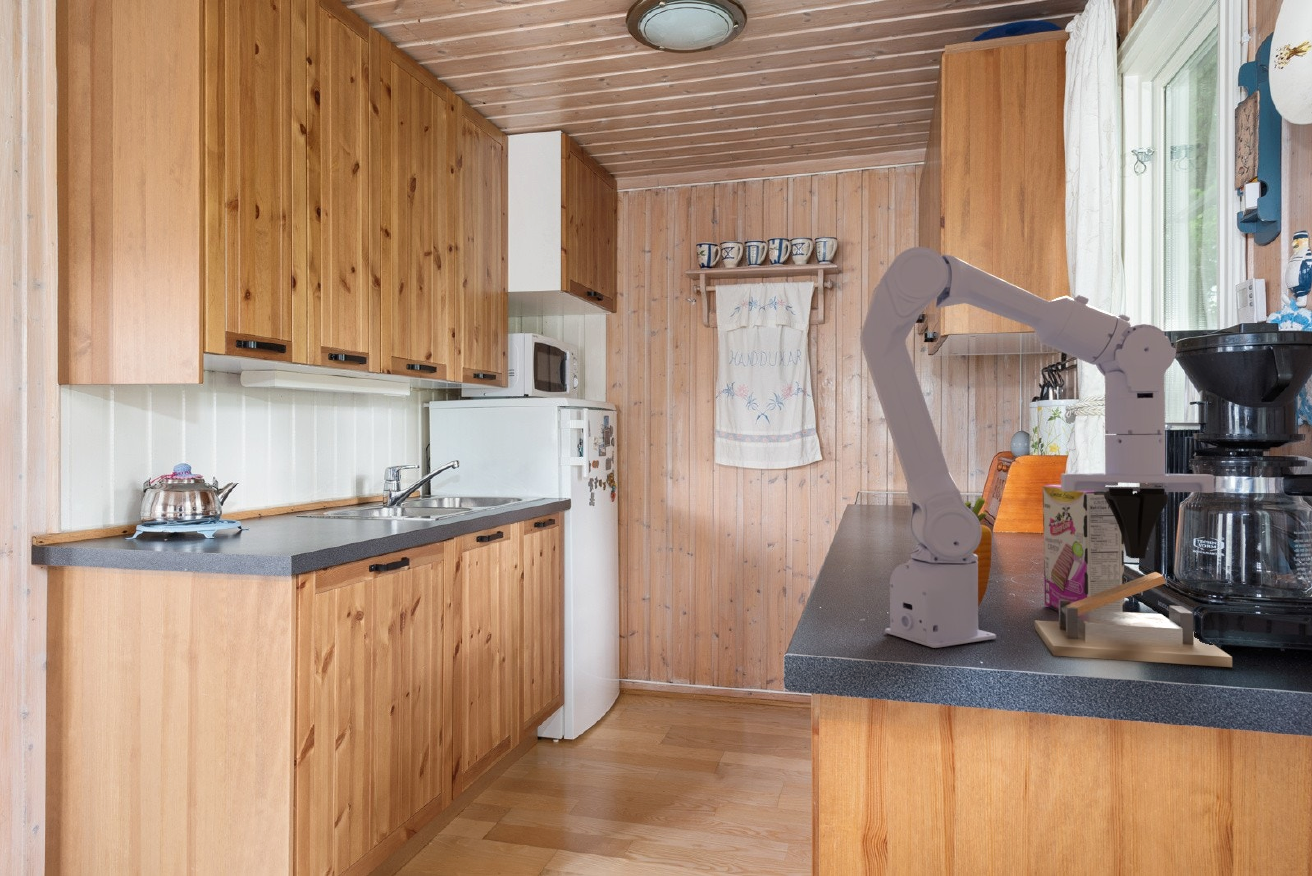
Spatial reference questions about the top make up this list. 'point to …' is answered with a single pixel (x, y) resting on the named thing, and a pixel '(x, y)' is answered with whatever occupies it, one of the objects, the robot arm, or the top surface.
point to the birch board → (1130, 649)
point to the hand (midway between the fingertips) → (1135, 557)
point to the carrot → (982, 550)
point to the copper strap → (1117, 593)
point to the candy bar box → (1080, 547)
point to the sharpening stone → (1129, 627)
